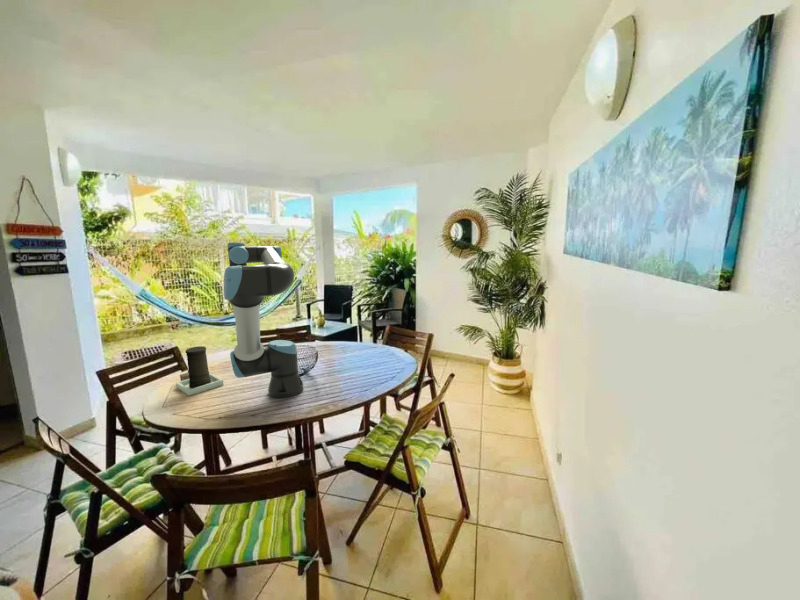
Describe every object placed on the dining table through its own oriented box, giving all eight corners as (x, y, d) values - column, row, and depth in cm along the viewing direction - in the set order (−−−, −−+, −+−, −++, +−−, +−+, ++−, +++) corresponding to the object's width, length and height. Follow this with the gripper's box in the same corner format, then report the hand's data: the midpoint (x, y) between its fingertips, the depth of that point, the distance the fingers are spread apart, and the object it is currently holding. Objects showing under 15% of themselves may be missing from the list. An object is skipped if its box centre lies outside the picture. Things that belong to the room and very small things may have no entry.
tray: (223, 384, 161) (223, 379, 160) (188, 396, 149) (188, 390, 149) (210, 377, 170) (209, 372, 170) (176, 387, 159) (176, 382, 158)
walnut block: (192, 381, 165) (192, 374, 165) (183, 384, 162) (182, 376, 162) (190, 379, 168) (189, 372, 167) (180, 382, 165) (179, 374, 164)
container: (215, 381, 164) (211, 345, 160) (202, 389, 155) (198, 352, 152) (198, 380, 164) (193, 345, 161) (184, 388, 156) (179, 351, 152)
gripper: (259, 275, 156) (263, 319, 160) (234, 273, 172) (239, 313, 175) (244, 276, 150) (248, 322, 154) (219, 274, 166) (224, 315, 170)
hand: (243, 317), depth 165 cm, fingers open, 13 cm apart
